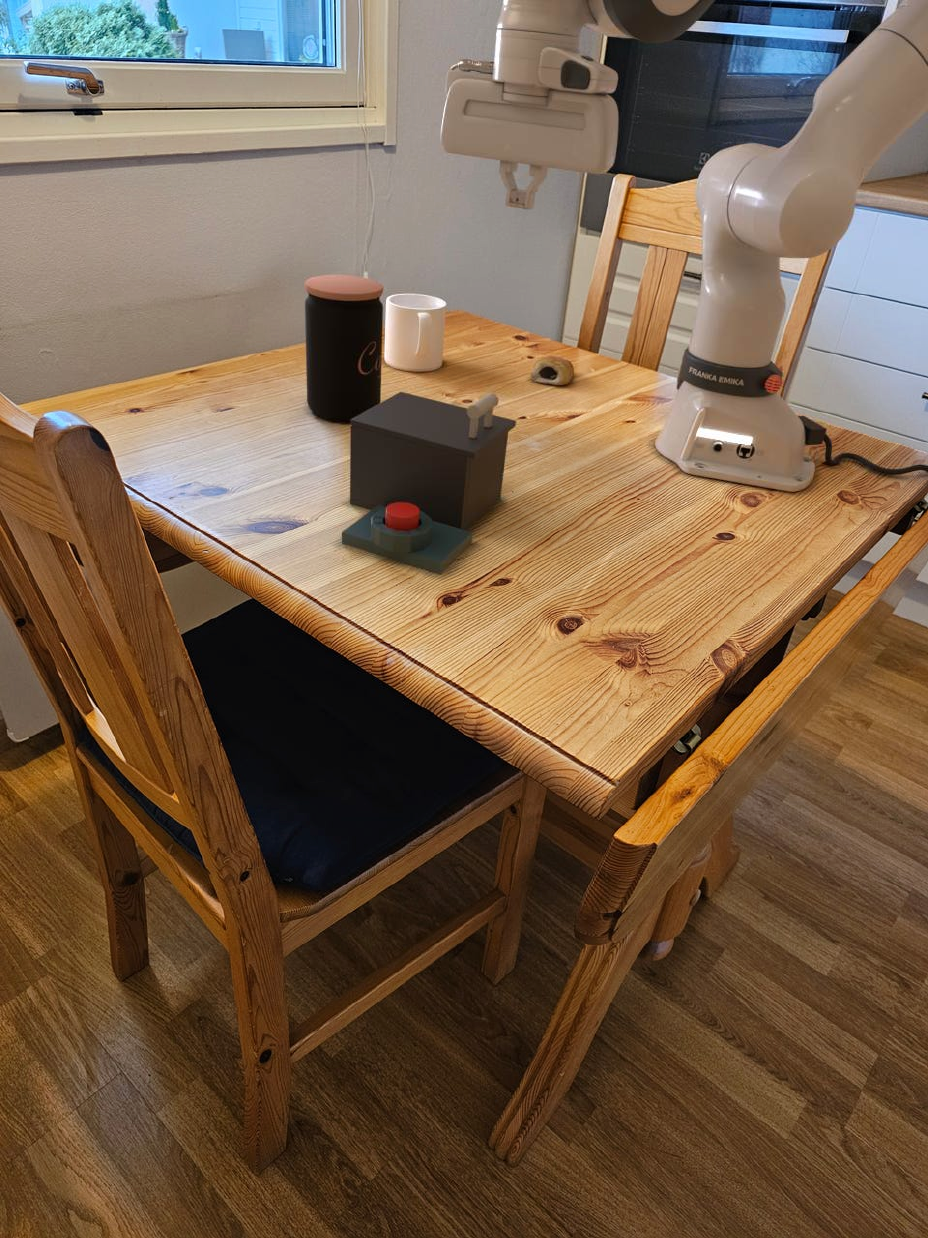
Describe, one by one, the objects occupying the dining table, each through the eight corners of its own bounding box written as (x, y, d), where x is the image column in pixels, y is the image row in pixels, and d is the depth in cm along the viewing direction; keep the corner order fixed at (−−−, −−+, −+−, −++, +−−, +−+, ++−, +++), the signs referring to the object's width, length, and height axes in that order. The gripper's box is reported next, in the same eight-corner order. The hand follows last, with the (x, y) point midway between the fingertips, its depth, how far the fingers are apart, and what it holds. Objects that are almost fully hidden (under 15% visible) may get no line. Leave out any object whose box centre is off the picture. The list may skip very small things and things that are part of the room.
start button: (424, 522, 92) (425, 507, 91) (408, 535, 89) (409, 520, 88) (395, 513, 93) (396, 498, 92) (378, 526, 90) (379, 511, 89)
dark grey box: (500, 500, 105) (509, 424, 100) (460, 537, 96) (467, 457, 91) (397, 470, 110) (400, 397, 104) (349, 504, 101) (350, 425, 95)
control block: (471, 544, 95) (474, 516, 93) (436, 578, 89) (438, 549, 87) (378, 515, 99) (379, 488, 97) (337, 546, 92) (337, 518, 90)
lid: (515, 426, 99) (520, 388, 97) (474, 459, 91) (478, 418, 88) (400, 396, 104) (401, 360, 102) (350, 425, 95) (350, 386, 93)
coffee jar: (368, 429, 121) (370, 297, 111) (296, 418, 122) (292, 287, 112) (388, 404, 129) (392, 280, 119) (321, 394, 131) (319, 270, 121)
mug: (379, 353, 150) (380, 293, 144) (434, 353, 153) (437, 294, 147) (394, 377, 140) (396, 313, 134) (452, 376, 143) (457, 314, 137)
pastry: (544, 366, 151) (547, 345, 149) (580, 374, 150) (584, 353, 147) (527, 381, 144) (530, 358, 142) (565, 389, 142) (569, 367, 140)
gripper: (435, 55, 92) (427, 196, 100) (615, 74, 86) (592, 223, 93) (460, 57, 97) (451, 191, 105) (632, 75, 90) (609, 217, 98)
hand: (519, 207), depth 99 cm, fingers closed
